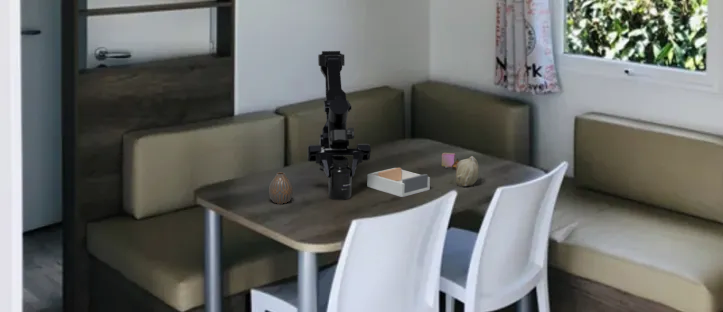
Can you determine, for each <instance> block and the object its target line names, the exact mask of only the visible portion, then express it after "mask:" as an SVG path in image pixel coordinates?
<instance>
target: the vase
mask: <svg viewBox="0 0 723 312" xmlns="http://www.w3.org/2000/svg"><path fill="white" fill-rule="evenodd" d="M293 191H294V190H293V184H292V182H291V181H290V180H289V179H288V177H287V175H286V173H285V172H276V174H275V176H274V178H273V179H272V180H271V181H270V183H269V187H268V194H269V198H270V200H271V201H272V202H273V204H276V203H277V204H276V205H284V204H283V203H285V204H288V203H287V202H290V201H291V199H292V196H293Z"/></svg>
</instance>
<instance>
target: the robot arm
mask: <svg viewBox="0 0 723 312" xmlns="http://www.w3.org/2000/svg"><path fill="white" fill-rule="evenodd" d="M317 56H318V58H317V62H318V66H319V67H320V68H319V69H320V72H321V74H322V75H323V77H324V78H325V80H324V81H325V83H324V84H325V100H323V112H324V113H325V123H324V126H323V128H321V129H322V130H321V134H319V142H318V144H309V145H308V146H307V161H308V162H313V163H314V162H315V164H318V165H319V166H320V167H319V170H321V171H323V172H324V173H325V175H326V177H327V179H329V169H330V167H332V166H333V165H332V158H334V157H345V156H352V161H351V163H352V165H351V170H352V178H354V176H355V173H356V170H357V167H358V166H359V164H360V163H362V162H363V161H369V160H370V158H371V153H372V150H371V149H372V147H371V145H370V144H369V143H357V144H356V148H349V147H350V140H354V139H355V128H354V127H348V126H347V120H348V115H349V112H351V111H352V105H351V103H350V101H349V100H348V99H347V94H346V92H345V91H344V90H343V89H342V78H341V77H342V76H341V72H342V70H343V67H344V66H345V65H346V64H345V54H344V53H341V50H322V51H321V54H319V53H318V55H317Z"/></svg>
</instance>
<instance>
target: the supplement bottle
mask: <svg viewBox="0 0 723 312" xmlns="http://www.w3.org/2000/svg"><path fill="white" fill-rule="evenodd" d="M332 165H333V166H332V167H330V169H329V178H328V197H329V199H332V200H339V201H342V200H343V201H345V200H349V199H350V198H351V197H352V183H353V182H352V167H350V166H349V157H345V156H344V157H334V158H332Z"/></svg>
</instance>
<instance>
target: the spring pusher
mask: <svg viewBox="0 0 723 312" xmlns="http://www.w3.org/2000/svg"><path fill="white" fill-rule="evenodd" d="M394 168H395V169H392V168H389V169H390V170H387V169H385V170H386V171H383V170H381V171H382V172H379V171H377V172H378V176H380V177H383V178H387V179H390V180H394V181H398V180H401V170H402V167H394Z"/></svg>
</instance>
